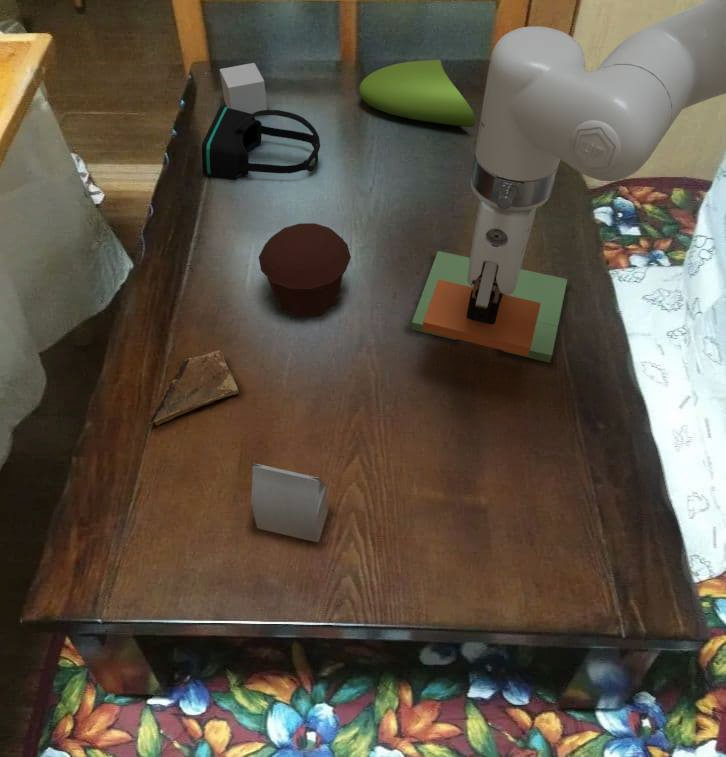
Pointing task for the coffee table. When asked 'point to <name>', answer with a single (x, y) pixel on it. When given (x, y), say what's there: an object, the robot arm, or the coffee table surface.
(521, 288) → the notch pad
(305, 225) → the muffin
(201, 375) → the shard
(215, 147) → the virtual reality headset
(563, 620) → the coffee table surface
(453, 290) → the tab pad
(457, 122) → the green curved wedge
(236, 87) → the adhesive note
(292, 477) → the grey piece
